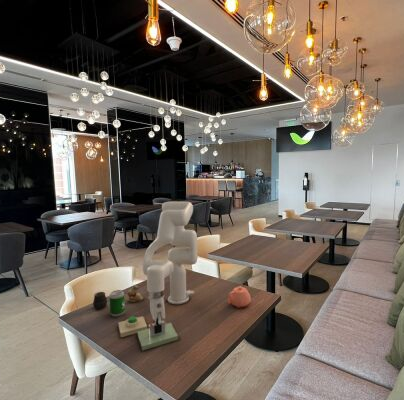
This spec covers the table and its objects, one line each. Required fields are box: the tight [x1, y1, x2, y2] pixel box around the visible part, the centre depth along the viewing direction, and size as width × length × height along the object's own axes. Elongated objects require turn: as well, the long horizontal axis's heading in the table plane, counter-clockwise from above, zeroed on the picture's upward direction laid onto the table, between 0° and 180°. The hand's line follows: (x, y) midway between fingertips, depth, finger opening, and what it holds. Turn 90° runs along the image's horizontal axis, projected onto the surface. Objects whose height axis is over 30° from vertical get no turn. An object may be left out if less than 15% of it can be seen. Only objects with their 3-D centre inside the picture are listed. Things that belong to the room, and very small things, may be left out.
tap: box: [148, 319, 166, 337], centre depth 122 cm, size 7×2×5 cm, turn 118°
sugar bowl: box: [227, 285, 252, 309], centre depth 152 cm, size 12×14×10 cm
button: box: [127, 315, 137, 323], centre depth 130 cm, size 4×4×2 cm
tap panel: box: [136, 322, 179, 351], centre depth 123 cm, size 16×12×2 cm
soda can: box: [108, 289, 126, 318], centre depth 143 cm, size 8×8×12 cm
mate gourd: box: [92, 291, 108, 310], centre depth 150 cm, size 7×8×10 cm
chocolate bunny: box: [126, 284, 144, 303], centre depth 158 cm, size 6×8×10 cm
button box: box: [118, 316, 148, 338], centre depth 130 cm, size 12×10×4 cm
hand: (157, 330), depth 122 cm, fingers closed on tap, 2 cm apart
